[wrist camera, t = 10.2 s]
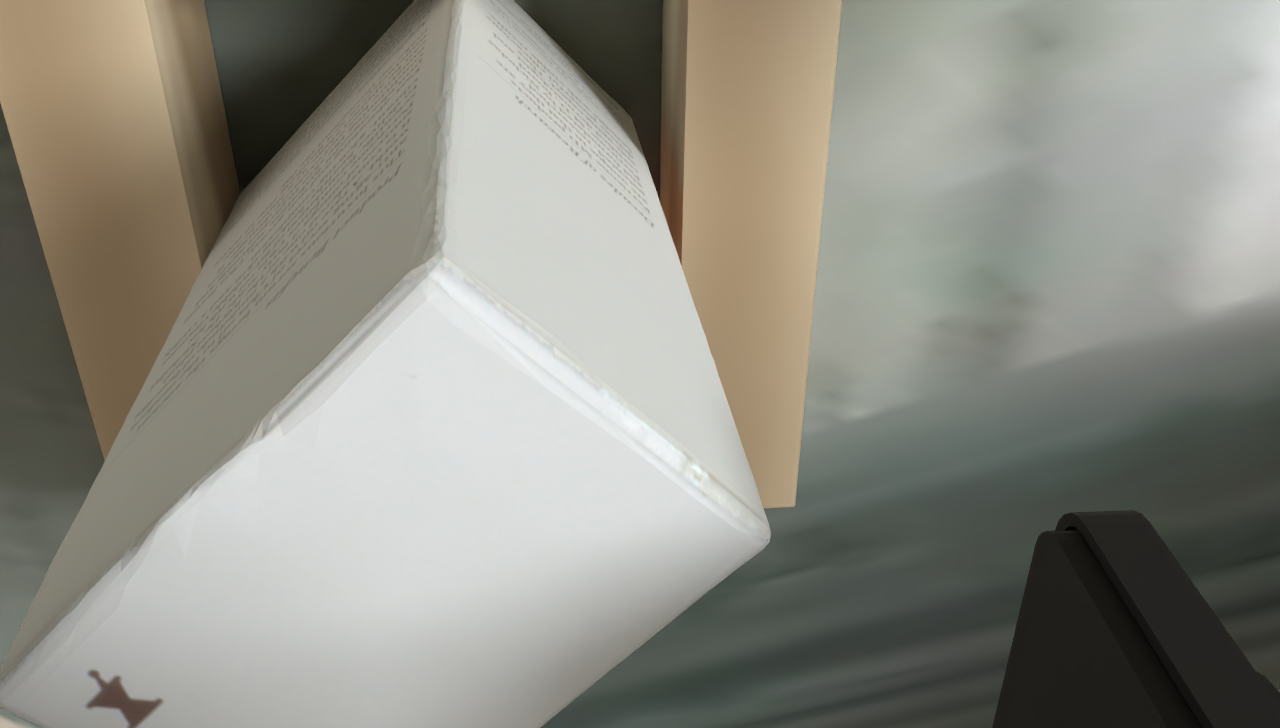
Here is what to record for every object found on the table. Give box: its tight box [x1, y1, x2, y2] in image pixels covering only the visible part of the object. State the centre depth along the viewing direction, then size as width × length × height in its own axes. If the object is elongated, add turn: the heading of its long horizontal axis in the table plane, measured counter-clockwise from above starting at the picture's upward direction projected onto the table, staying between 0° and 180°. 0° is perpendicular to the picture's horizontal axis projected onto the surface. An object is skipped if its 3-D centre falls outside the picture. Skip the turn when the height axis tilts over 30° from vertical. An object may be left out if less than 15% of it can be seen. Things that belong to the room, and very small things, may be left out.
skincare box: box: [0, 0, 771, 728], centre depth 15 cm, size 6×4×12 cm
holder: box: [0, 0, 842, 508], centre depth 19 cm, size 12×12×3 cm
